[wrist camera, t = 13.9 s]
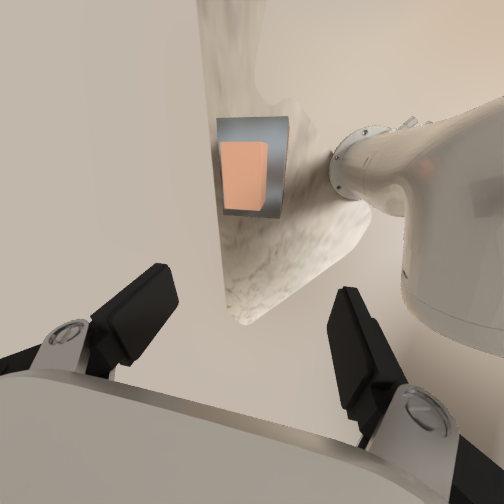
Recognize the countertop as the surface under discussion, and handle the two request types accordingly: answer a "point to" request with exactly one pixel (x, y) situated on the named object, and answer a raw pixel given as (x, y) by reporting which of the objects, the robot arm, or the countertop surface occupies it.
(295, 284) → the countertop surface
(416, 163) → the robot arm
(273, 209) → the shiny metal block
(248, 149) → the terracotta brick
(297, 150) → the countertop surface
